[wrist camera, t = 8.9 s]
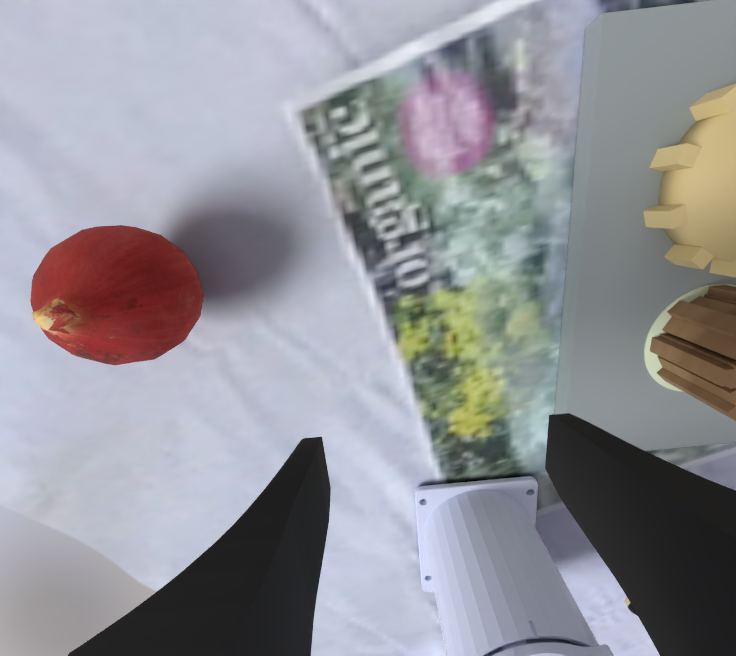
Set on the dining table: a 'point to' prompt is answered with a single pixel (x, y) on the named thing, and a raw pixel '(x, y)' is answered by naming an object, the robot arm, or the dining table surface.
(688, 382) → the walnut gear
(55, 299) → the onion
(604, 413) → the gear board
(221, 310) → the dining table surface
